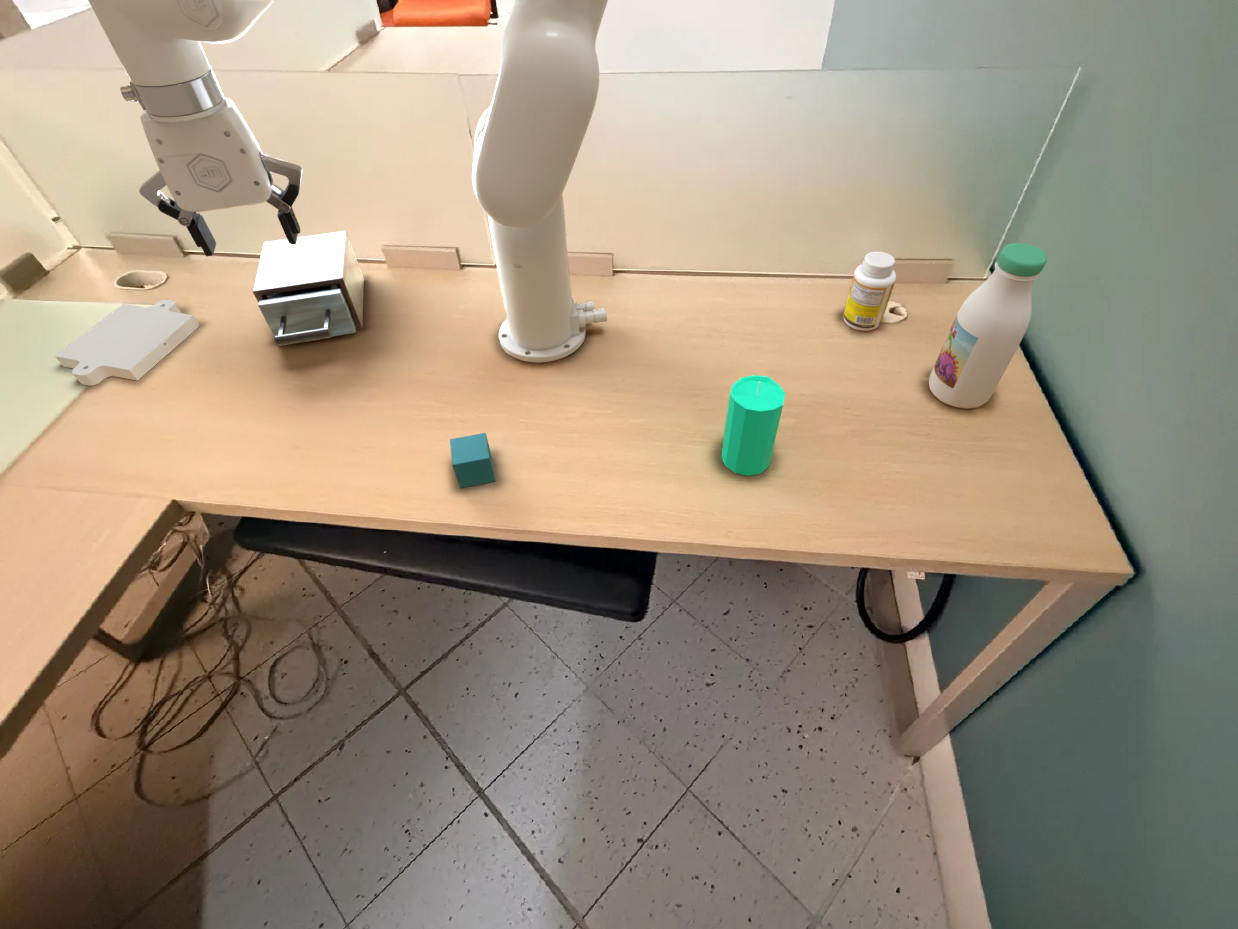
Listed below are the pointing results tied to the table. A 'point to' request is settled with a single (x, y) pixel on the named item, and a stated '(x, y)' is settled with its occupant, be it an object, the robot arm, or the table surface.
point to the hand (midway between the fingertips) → (253, 244)
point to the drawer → (307, 314)
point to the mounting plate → (127, 342)
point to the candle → (752, 424)
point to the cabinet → (312, 268)
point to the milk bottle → (988, 330)
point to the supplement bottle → (870, 291)
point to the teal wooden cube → (472, 460)
